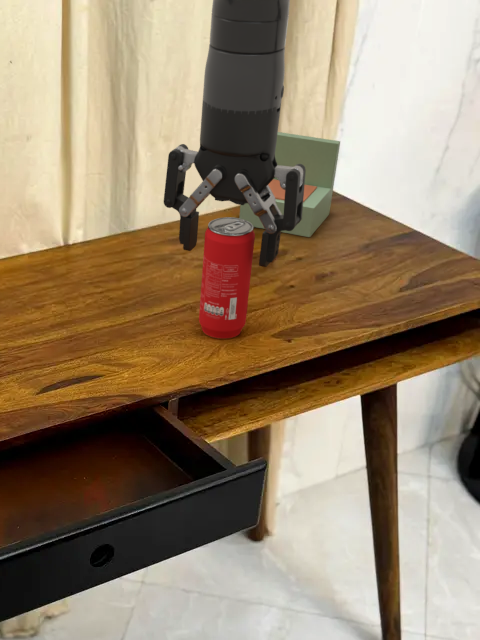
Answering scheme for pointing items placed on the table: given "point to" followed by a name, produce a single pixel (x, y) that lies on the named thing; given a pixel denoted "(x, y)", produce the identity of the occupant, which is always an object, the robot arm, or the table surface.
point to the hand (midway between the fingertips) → (227, 256)
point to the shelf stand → (318, 179)
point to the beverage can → (226, 277)
